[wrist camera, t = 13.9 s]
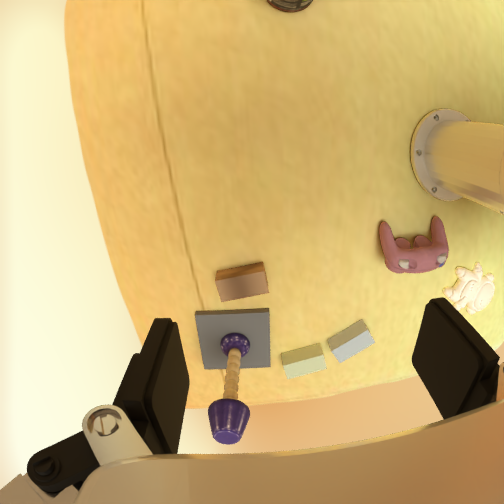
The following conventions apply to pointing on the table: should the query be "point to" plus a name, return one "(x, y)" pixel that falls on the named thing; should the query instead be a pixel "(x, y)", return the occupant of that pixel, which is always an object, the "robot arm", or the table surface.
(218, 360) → the pad
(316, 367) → the brick
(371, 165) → the table surface
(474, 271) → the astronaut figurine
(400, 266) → the video game controller
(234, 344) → the toy lamp
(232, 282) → the brick
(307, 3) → the supplement bottle
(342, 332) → the brick
